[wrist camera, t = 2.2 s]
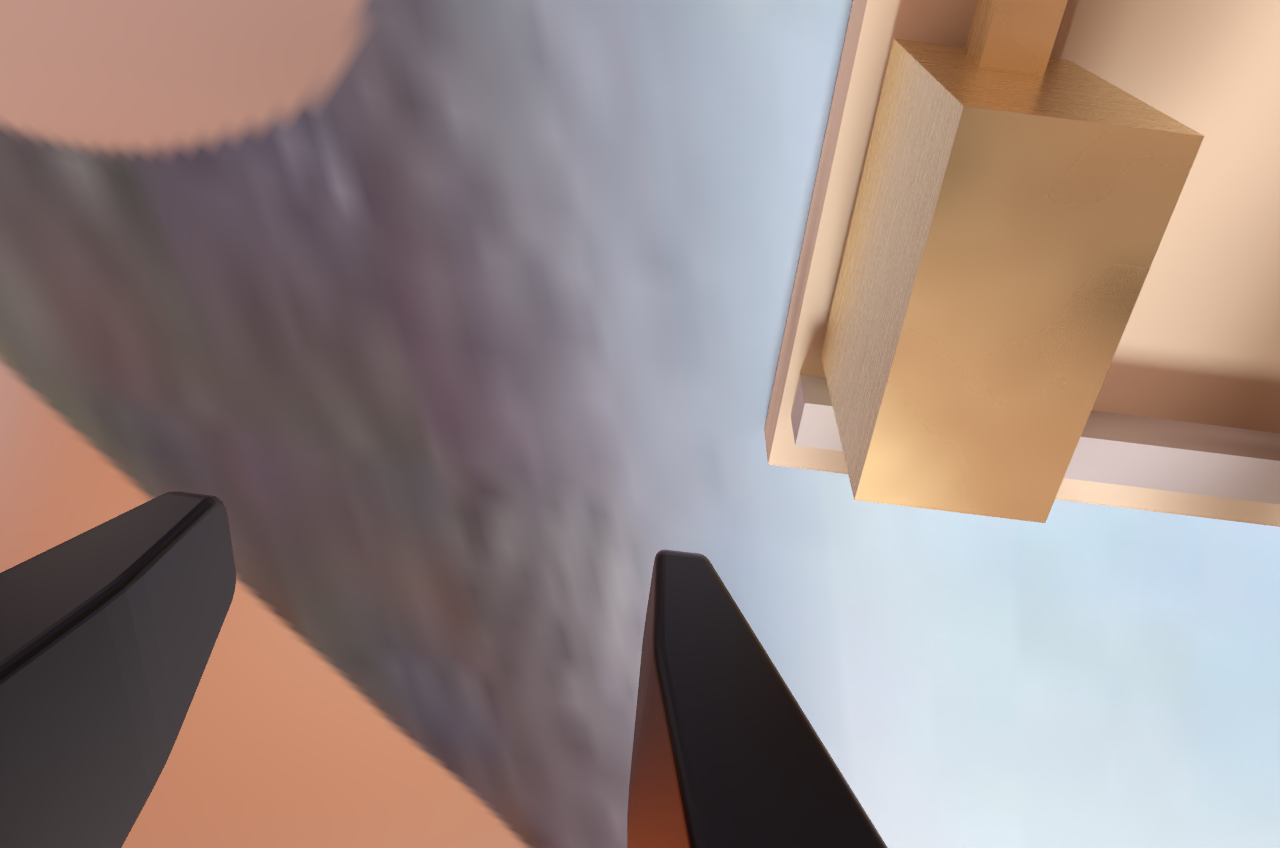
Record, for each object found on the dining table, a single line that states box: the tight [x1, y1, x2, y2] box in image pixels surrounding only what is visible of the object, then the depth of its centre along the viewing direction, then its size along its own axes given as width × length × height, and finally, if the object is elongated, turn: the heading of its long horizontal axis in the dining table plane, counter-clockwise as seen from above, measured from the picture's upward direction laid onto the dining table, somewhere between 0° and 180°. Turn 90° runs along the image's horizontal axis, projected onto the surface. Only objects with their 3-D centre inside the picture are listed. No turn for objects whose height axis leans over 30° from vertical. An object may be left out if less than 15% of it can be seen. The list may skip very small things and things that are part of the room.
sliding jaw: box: [821, 0, 1204, 523], centre depth 14 cm, size 3×10×5 cm, turn 174°
